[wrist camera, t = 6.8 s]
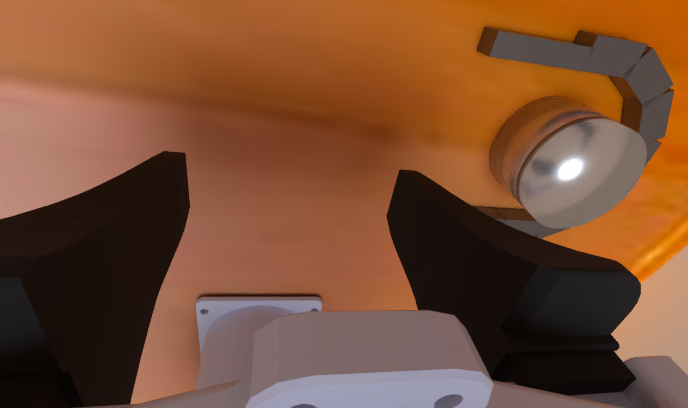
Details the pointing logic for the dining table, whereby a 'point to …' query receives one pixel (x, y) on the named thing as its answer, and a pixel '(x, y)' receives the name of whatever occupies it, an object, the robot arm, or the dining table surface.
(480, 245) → the robot arm
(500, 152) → the cylinder
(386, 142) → the dining table surface
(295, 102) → the dining table surface
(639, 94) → the u-shaped bracket
